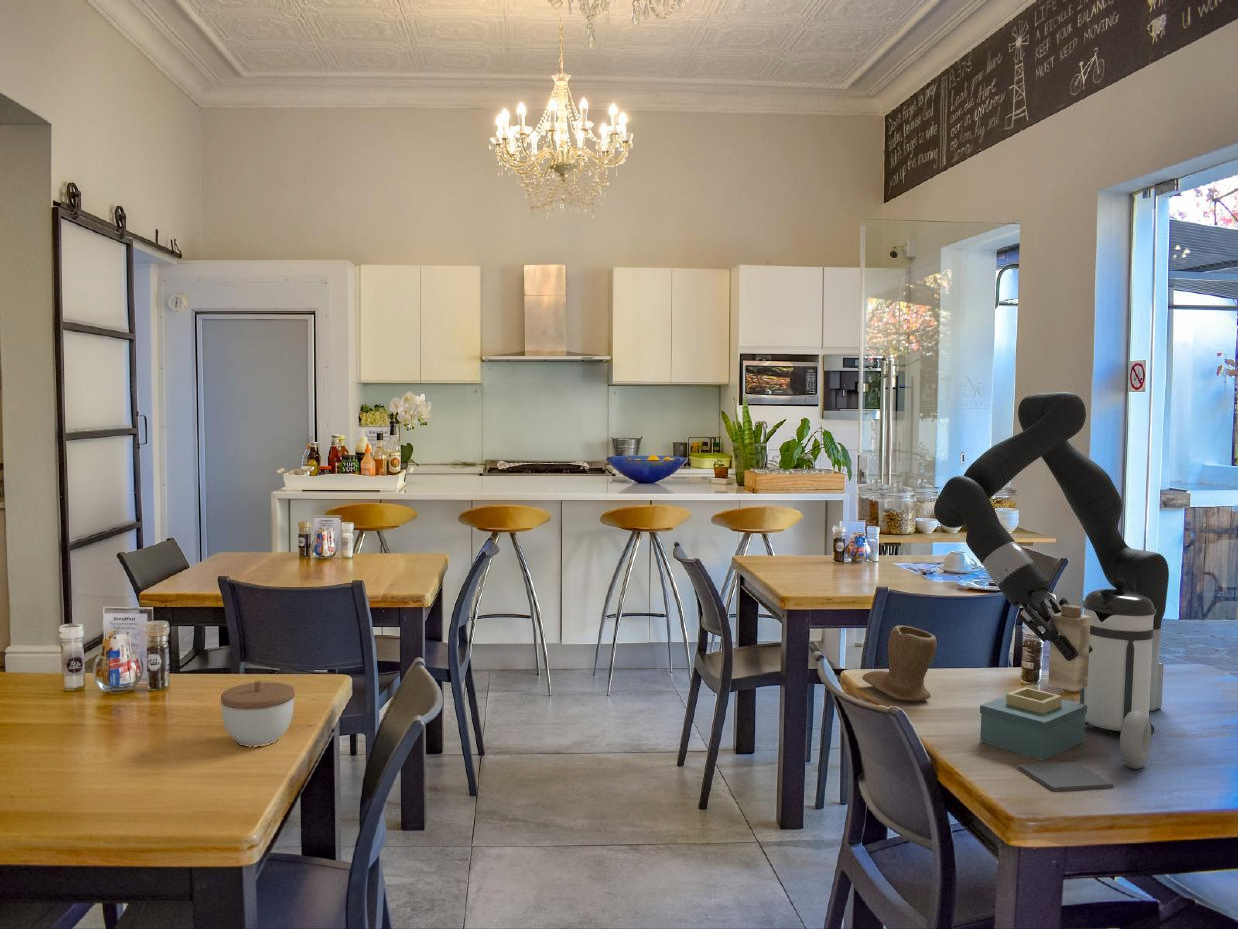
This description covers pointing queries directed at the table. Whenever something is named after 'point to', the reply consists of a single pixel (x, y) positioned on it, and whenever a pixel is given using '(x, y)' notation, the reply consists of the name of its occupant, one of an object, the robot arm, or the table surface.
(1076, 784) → the rubber mat
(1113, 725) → the coffee press
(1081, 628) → the wooden block
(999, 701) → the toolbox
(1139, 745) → the donut
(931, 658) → the brown top hat
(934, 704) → the table surface
